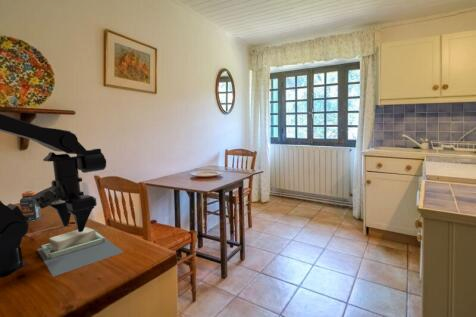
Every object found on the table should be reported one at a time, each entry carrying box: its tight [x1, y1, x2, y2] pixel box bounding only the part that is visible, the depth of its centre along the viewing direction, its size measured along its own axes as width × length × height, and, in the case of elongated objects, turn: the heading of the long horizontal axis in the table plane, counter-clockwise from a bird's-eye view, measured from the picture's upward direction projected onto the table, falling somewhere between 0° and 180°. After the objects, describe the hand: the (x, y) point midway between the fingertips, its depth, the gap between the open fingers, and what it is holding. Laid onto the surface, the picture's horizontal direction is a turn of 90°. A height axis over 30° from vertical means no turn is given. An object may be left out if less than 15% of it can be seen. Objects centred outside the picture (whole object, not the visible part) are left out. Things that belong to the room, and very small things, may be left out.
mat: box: [36, 238, 124, 278], centre depth 74 cm, size 22×16×1 cm
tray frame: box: [41, 230, 106, 259], centre depth 78 cm, size 9×14×1 cm, turn 134°
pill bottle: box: [19, 190, 42, 223], centre depth 106 cm, size 6×6×11 cm
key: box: [24, 221, 76, 238], centre depth 94 cm, size 6×1×15 cm
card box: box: [48, 226, 96, 252], centre depth 78 cm, size 10×6×4 cm, turn 145°
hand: (73, 228), depth 78 cm, fingers open, 9 cm apart
